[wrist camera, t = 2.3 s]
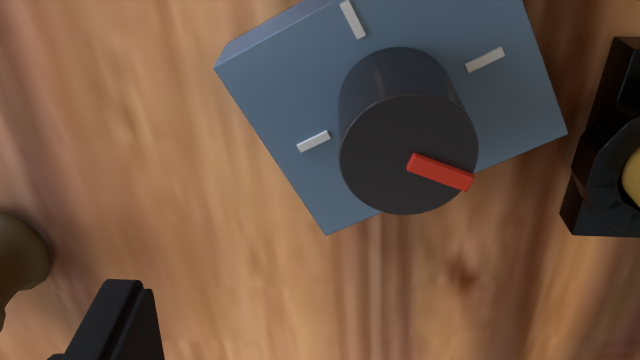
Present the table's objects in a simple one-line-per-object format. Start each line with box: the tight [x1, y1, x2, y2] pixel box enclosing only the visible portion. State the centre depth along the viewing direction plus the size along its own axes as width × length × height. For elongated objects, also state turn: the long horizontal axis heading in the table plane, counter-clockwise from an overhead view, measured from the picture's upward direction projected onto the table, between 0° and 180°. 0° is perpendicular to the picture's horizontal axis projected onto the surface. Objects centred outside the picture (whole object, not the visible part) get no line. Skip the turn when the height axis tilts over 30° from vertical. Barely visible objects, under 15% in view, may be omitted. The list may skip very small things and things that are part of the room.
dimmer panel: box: [213, 0, 568, 236], centre depth 22 cm, size 11×9×3 cm
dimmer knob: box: [338, 47, 479, 215], centre depth 19 cm, size 4×4×5 cm
